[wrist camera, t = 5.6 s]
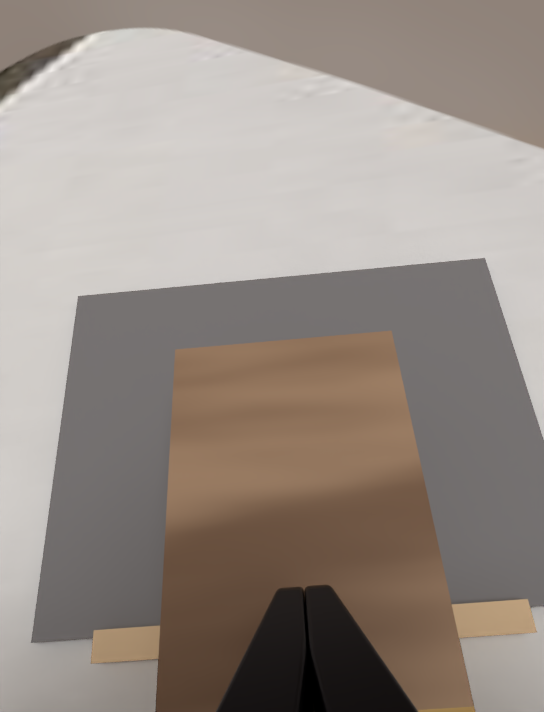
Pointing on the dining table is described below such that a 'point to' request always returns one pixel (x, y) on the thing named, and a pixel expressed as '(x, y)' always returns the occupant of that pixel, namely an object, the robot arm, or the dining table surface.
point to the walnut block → (299, 513)
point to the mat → (284, 322)
